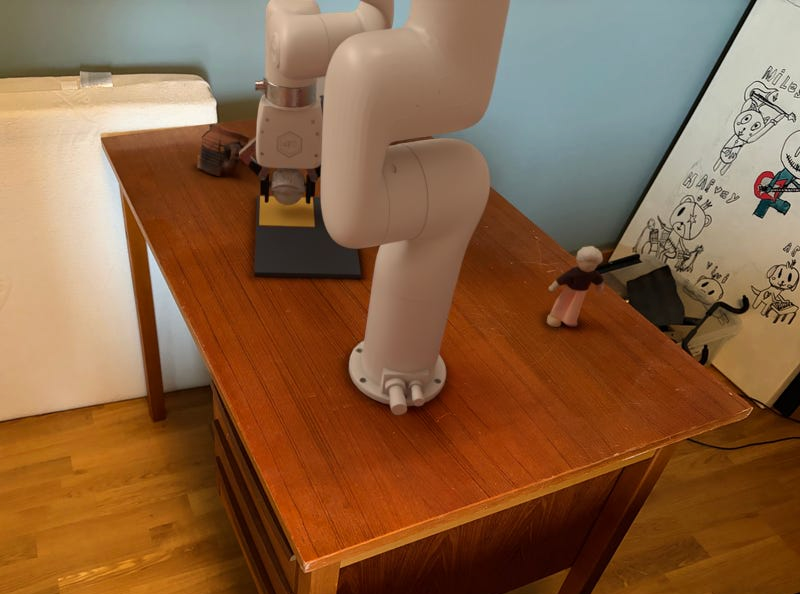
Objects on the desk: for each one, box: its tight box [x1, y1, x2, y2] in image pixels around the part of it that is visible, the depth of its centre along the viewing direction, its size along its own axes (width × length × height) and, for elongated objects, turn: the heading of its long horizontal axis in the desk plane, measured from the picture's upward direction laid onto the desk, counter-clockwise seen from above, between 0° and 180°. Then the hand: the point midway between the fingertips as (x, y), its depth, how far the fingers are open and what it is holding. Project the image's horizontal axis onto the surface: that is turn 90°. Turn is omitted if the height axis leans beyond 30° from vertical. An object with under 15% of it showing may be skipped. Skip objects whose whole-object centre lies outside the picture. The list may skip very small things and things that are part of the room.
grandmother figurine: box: [546, 245, 605, 328], centre depth 96 cm, size 8×4×13 cm, turn 105°
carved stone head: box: [269, 168, 307, 205], centre depth 112 cm, size 6×7×7 cm
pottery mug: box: [196, 123, 250, 177], centre depth 125 cm, size 12×10×8 cm
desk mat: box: [253, 195, 362, 280], centre depth 111 cm, size 22×16×1 cm
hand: (287, 198), depth 113 cm, fingers closed on carved stone head, 6 cm apart
